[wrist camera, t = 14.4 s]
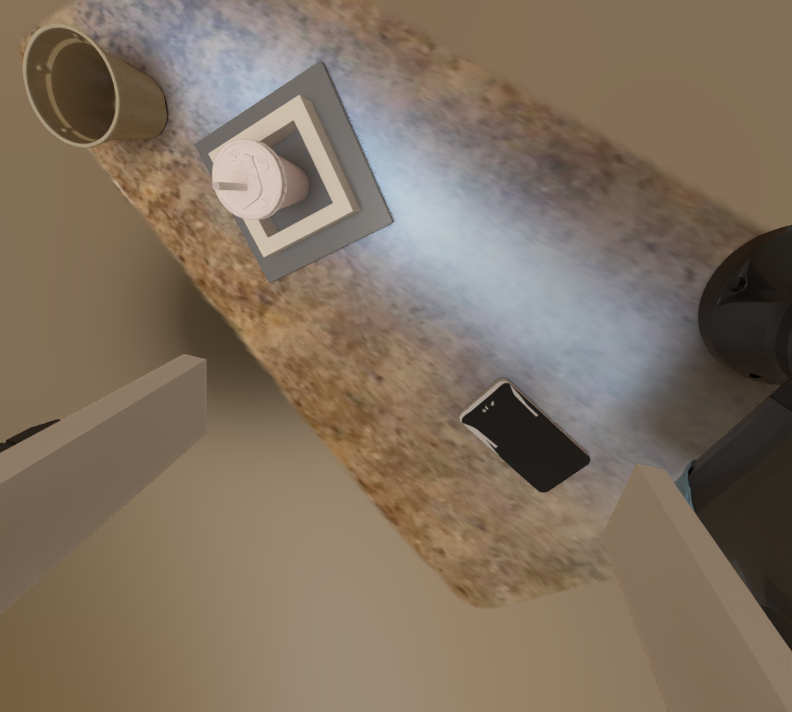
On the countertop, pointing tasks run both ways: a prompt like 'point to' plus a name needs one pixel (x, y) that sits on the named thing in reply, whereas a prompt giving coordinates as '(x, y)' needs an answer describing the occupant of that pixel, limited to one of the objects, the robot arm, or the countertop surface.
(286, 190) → the smoothie
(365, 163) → the socket
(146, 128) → the flower pot
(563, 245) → the countertop surface
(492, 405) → the smartphone
